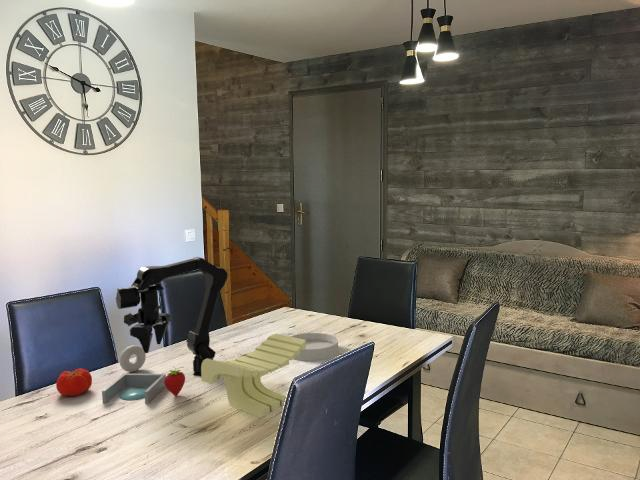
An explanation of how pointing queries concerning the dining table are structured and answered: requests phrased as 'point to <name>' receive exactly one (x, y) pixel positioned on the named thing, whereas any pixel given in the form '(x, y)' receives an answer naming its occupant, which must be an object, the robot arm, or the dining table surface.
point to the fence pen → (138, 392)
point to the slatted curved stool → (254, 374)
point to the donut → (126, 355)
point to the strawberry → (174, 381)
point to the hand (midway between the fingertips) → (152, 348)
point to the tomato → (74, 382)
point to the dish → (317, 347)
